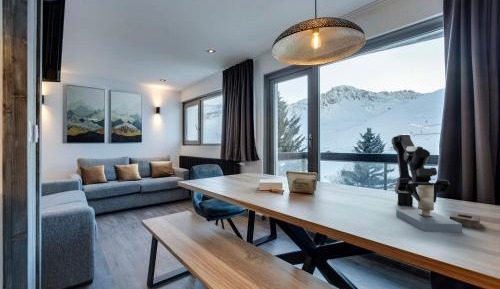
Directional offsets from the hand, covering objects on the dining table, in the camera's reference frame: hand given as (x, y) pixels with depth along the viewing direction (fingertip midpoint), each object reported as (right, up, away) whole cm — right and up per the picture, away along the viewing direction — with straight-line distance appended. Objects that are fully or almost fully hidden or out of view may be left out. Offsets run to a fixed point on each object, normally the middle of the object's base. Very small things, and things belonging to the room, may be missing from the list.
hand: (427, 201), depth 103 cm
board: (0, -9, +1) cm, 9 cm away
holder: (+16, -9, +1) cm, 19 cm away
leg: (+1, -7, +1) cm, 7 cm away
